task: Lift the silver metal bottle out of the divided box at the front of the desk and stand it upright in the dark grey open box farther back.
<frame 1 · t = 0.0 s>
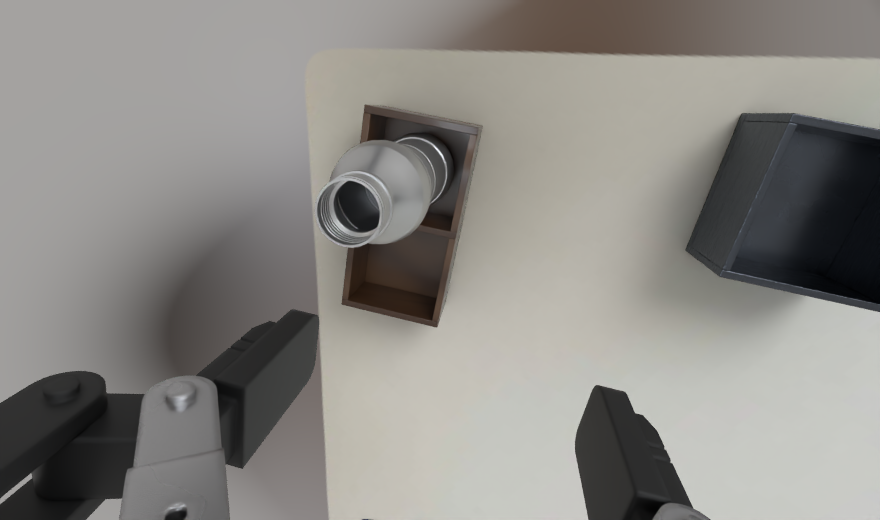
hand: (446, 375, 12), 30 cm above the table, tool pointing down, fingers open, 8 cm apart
silver metal bottle: (423, 167, 40), resting on divided box
divided box: (416, 211, 42), on the table
dark grey open box: (783, 200, 37), on the table
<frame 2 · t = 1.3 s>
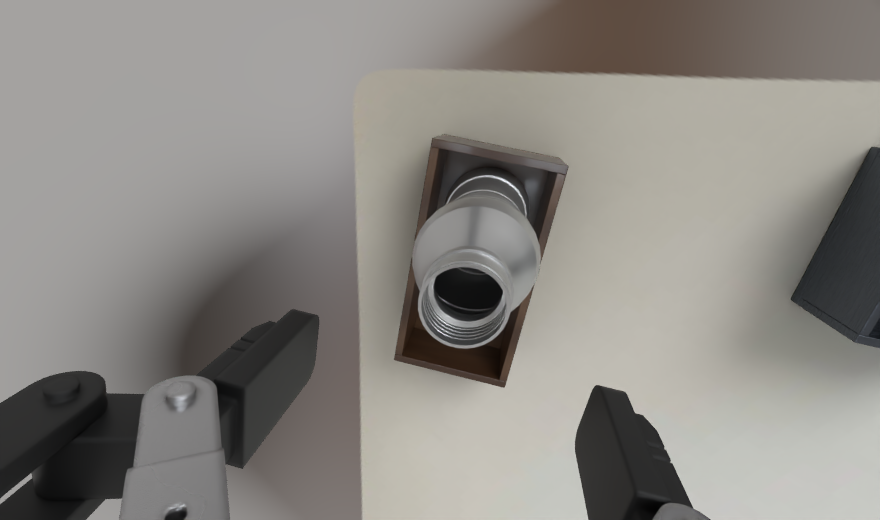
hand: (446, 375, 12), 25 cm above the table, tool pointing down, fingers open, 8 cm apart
silver metal bottle: (487, 203, 35), resting on divided box
divided box: (476, 251, 37), on the table
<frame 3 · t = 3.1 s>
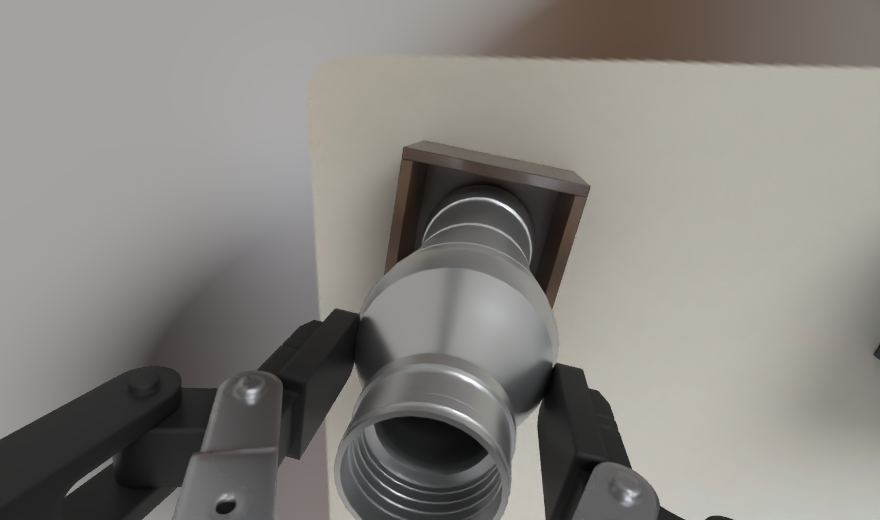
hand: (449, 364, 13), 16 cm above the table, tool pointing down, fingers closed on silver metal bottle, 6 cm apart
silver metal bottle: (481, 229, 27), resting on divided box, touching gripper
divided box: (467, 289, 29), on the table
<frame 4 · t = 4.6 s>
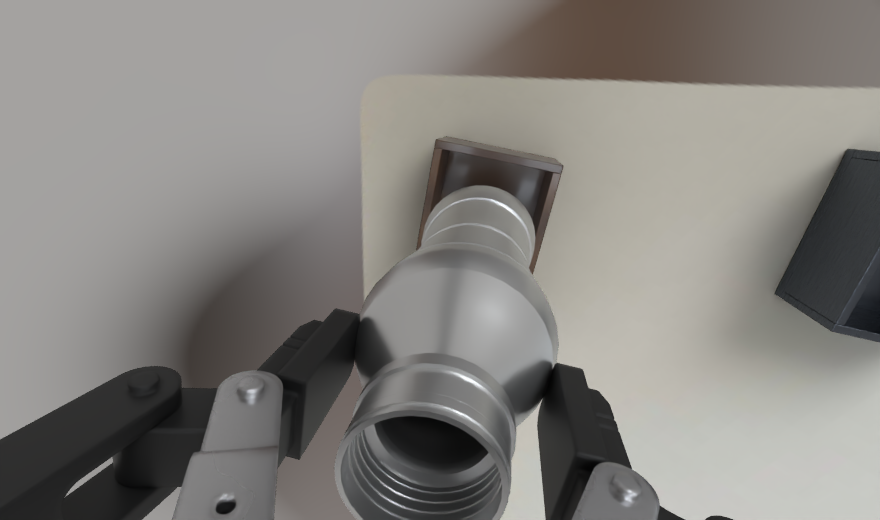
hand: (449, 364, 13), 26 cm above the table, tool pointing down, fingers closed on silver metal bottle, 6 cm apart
silver metal bottle: (481, 229, 27), point 11 cm above the table, touching gripper
divided box: (477, 248, 39), on the table
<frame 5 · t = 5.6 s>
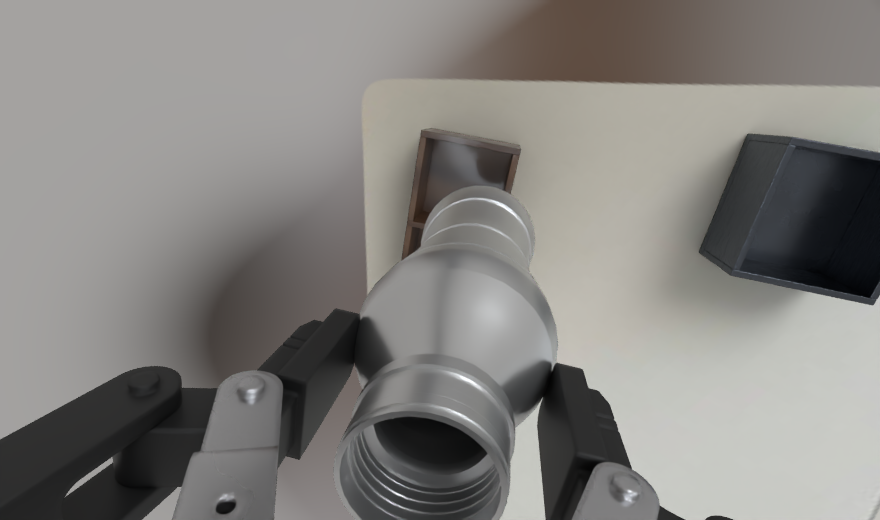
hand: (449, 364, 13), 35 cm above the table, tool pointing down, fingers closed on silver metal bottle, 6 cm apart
silver metal bottle: (480, 229, 27), point 19 cm above the table, touching gripper
divided box: (458, 219, 47), on the table
dark grey open box: (785, 208, 42), on the table
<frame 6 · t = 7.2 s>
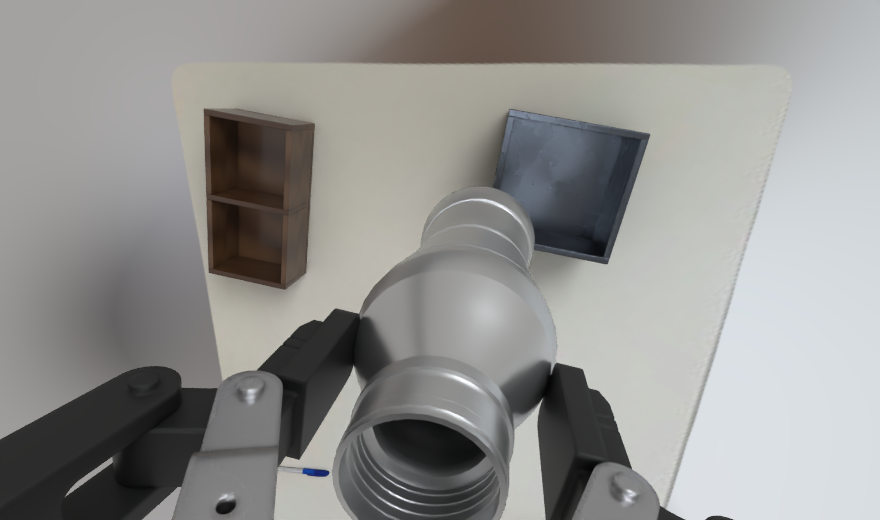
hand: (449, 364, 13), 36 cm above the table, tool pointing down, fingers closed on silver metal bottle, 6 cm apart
ballpoint pen: (297, 467, 65), on the table
silver metal bottle: (480, 230, 27), point 20 cm above the table, touching gripper
divided box: (272, 195, 51), on the table
dark grey open box: (553, 178, 45), on the table
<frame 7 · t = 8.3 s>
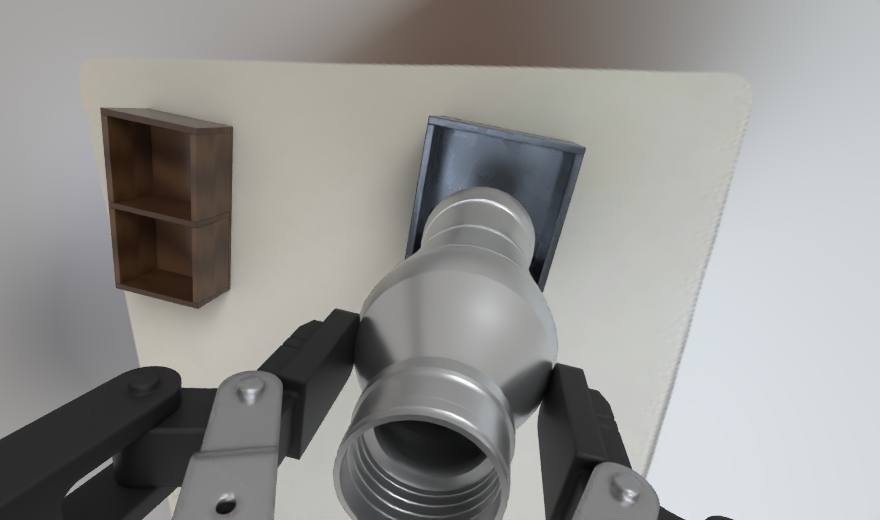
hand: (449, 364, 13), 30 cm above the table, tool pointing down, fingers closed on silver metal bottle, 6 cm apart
silver metal bottle: (480, 230, 27), point 14 cm above the table, touching gripper
divided box: (191, 204, 46), on the table
dark grey open box: (491, 194, 41), on the table
when the fingers open (16 cm above the table, at t = 11.6 s): silver metal bottle stays where it is, resting on dark grey open box.
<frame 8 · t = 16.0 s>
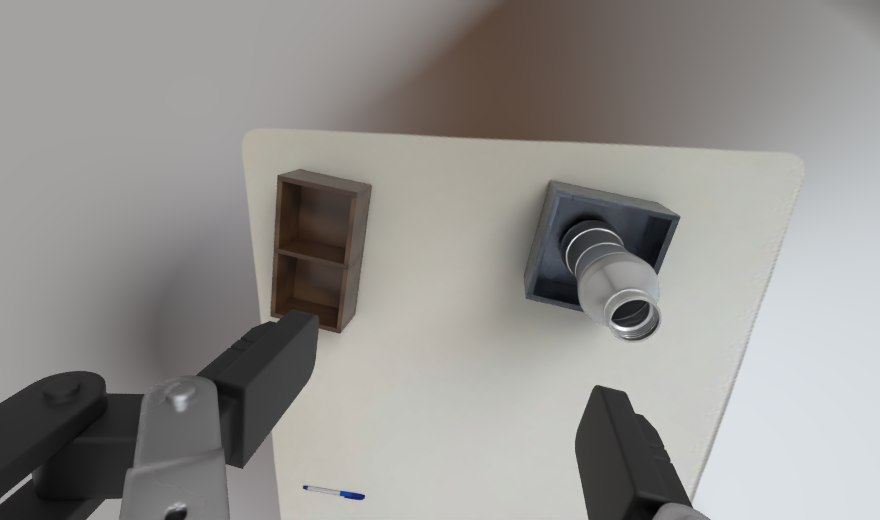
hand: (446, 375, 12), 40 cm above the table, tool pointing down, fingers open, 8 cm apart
ballpoint pen: (335, 489, 70), on the table
silver metal bottle: (587, 242, 50), point 1 cm above the table, touching dark grey open box
divided box: (328, 245, 56), on the table
dark grey open box: (587, 241, 50), on the table
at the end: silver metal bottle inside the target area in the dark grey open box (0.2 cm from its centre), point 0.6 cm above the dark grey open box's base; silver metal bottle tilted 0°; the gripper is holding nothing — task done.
